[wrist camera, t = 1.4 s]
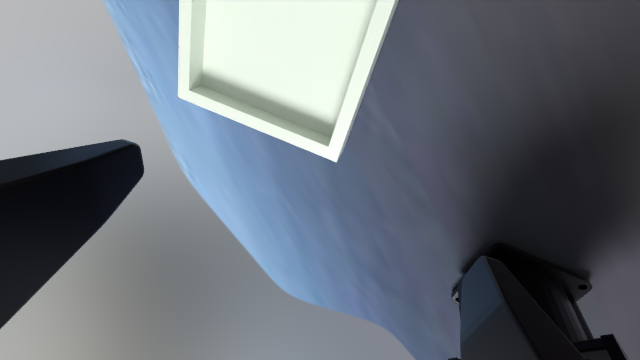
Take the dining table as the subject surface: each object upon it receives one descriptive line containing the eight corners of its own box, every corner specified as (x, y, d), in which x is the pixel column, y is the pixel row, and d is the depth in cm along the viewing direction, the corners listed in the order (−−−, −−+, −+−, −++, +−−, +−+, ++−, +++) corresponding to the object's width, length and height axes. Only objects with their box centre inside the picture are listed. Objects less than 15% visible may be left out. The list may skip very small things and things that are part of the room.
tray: (418, -54, 15) (417, -61, 13) (343, 149, 21) (336, 162, 20) (206, -122, 16) (181, -136, 14) (196, 90, 22) (178, 97, 21)
